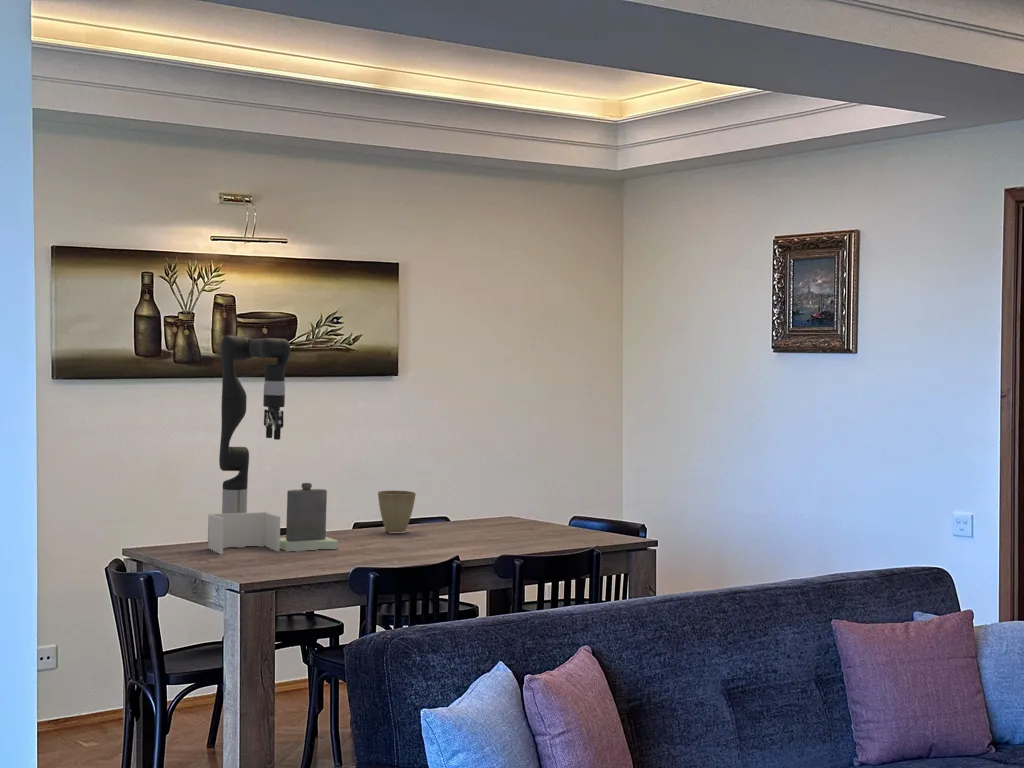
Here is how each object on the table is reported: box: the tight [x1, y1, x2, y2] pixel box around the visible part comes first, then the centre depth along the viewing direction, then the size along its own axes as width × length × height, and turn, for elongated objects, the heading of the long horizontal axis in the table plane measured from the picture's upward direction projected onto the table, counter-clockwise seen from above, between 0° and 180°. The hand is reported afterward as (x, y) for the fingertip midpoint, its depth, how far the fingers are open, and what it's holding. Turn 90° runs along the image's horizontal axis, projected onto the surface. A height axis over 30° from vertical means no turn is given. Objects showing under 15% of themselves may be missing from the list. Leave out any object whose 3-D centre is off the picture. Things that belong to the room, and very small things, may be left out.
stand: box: [280, 536, 339, 552], centre depth 437 cm, size 14×19×3 cm
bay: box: [207, 511, 281, 555], centre depth 428 cm, size 14×21×12 cm
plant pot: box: [377, 490, 417, 533], centre depth 485 cm, size 15×15×16 cm
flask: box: [285, 482, 328, 541], centre depth 437 cm, size 15×6×20 cm, turn 127°
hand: (273, 438), depth 442 cm, fingers open, 8 cm apart
